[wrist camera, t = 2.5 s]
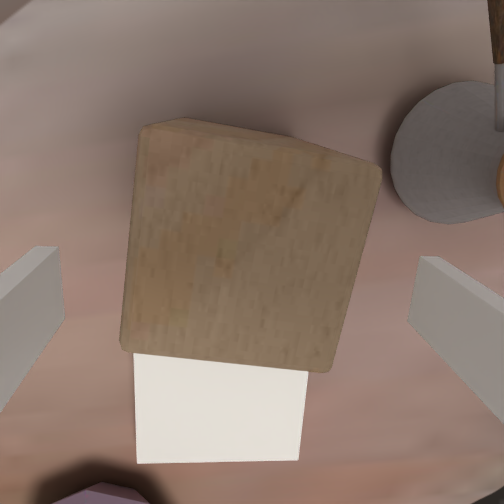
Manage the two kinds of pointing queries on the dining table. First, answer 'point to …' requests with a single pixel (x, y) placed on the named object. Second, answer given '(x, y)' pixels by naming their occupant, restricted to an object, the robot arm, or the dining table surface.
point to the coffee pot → (455, 145)
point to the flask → (104, 495)
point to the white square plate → (216, 411)
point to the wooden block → (242, 245)
